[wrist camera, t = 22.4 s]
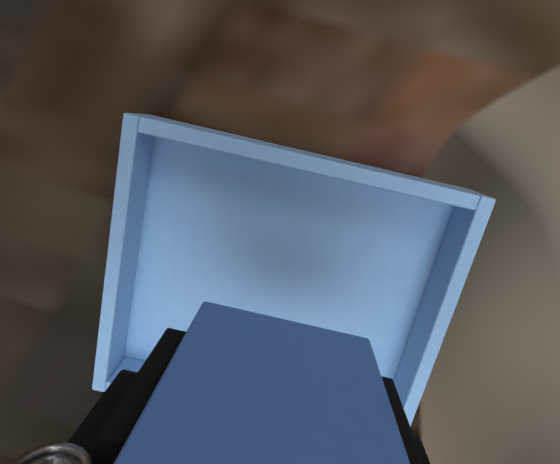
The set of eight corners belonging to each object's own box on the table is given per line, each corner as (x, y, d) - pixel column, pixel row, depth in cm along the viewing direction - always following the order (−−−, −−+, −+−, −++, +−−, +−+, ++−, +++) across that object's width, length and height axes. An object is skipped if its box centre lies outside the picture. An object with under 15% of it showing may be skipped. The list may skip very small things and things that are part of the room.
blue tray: (115, 358, 20) (91, 390, 18) (147, 114, 17) (122, 112, 15) (387, 418, 20) (399, 458, 18) (469, 188, 17) (497, 199, 15)
